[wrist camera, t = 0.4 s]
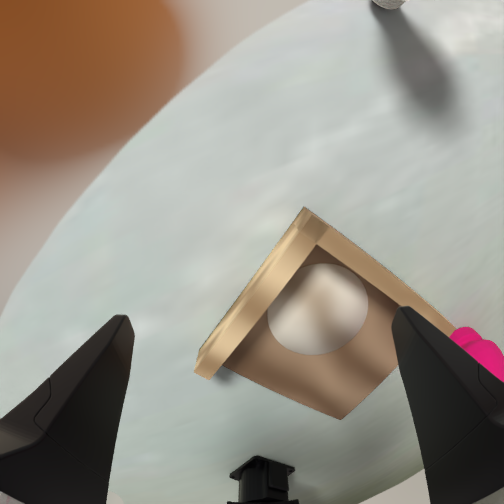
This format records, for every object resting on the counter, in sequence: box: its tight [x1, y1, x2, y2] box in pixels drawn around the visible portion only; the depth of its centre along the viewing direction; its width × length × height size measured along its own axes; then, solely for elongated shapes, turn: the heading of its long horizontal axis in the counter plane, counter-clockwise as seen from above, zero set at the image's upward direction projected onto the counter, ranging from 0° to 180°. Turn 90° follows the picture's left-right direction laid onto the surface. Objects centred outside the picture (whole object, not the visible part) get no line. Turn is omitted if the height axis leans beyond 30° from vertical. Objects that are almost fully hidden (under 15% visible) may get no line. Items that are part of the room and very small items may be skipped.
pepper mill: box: [449, 327, 504, 382], centre depth 20 cm, size 7×7×20 cm
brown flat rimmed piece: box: [194, 207, 456, 420], centre depth 26 cm, size 16×18×4 cm
